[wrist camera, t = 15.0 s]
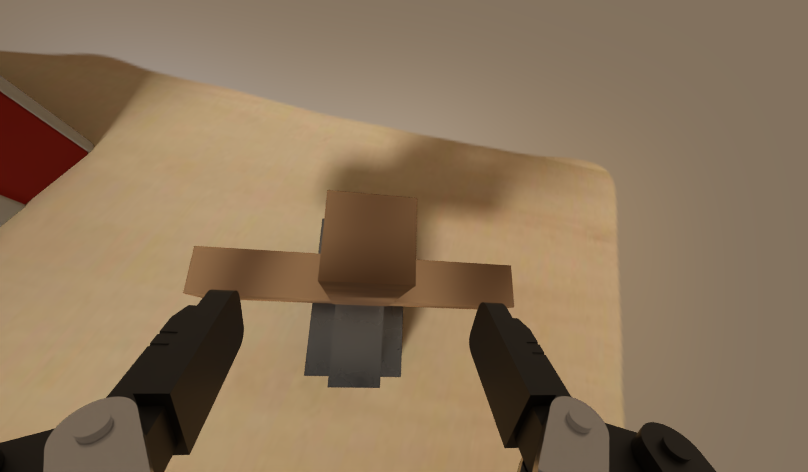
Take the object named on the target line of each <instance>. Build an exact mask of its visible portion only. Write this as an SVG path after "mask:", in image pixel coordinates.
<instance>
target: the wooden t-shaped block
mask: <svg viewBox="0 0 808 472" xmlns="http://www.w3.org/2000/svg"><path fill="white" fill-rule="evenodd" d="M416 232H417V198H410V197H399V196H388V195H377V194H366V193H355V192H344V191H333V190H328V191H327V200H326V209H325V218H324V228H323V237H322V246H321V254H315V253H299V252H283V251H267V250H251V249H235V248H219V247H203V246H194V249H193V254H192V258H191V262H190V266H189V271H188V275H187V279H186V283H185V288H184V292H183V293H184V294H188V295H193V296H197V297H201V298H203V297H204V296H205V294H206V293H207V292H208V291H209V290H211V289H215V290H236V291H238V293H239V296H240V300H257V301H282V302H307V303H332V304H340V305H365V306H407V307H432V308H457V309H478V307H479V305H480V303H482V302H489V303H503V304H504V305H505V306H506V308H512V307H514V299H513V286H512V274H511V266H509V265H493V264H477V263H461V262H445V261H428V260H416Z"/></svg>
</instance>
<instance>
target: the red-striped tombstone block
mask: <svg viewBox="0 0 808 472" xmlns="http://www.w3.org/2000/svg"><path fill="white" fill-rule="evenodd" d="M92 150H93V144H92V143H91V142H90V141H89V140H88V139H86V138H85V137H84V136H82V135H81V134H79V133H78V132H77V131H75V130H74V129H73V128H71V127H70V126H69V125H67V124H66V123H64V122H63V121H62V120H60V119H59V118H58V117H56V116H55V115H54V114H52V113H51V112H49V111H48V110H47V109H45V108H44V107H43V106H41V105H40V104H39V103H37V102H36V101H35V100H33V99H32V98H30V97H29V96H28V95H26V94H25V93H24V92H22V91H21V90H20V89H18V88H17V87H15V86H14V85H13V84H11V83H10V82H9V81H7V80H6V79H5V78H3V77H2V76H0V227H1V226H2V225H3V224H4V223H6V222H7V221H8V220H9V219H11V218H12V217H13V216H14V215H16V214H17V213H18V212H19V211H21V210H22V209H23V208H24V207H25V204H26V203H27V202H29V201H30V200H31V199H32V198H34V197H35V196H36V195H37V194H39V193H40V192H41V191H42V190H44V189H45V188H46V187H47V186H49V185H50V184H51V183H52V182H54V181H55V180H56V179H58V178H59V177H60V176H61V175H63V174H64V173H65V172H66V171H68V170H69V169H70V168H71V167H73V166H74V165H75V164H76V163H78V162H79V161H80V160H81V159H83V158H84V157H85V156H86V155H88V152H91V151H92Z"/></svg>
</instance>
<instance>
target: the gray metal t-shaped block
mask: <svg viewBox="0 0 808 472" xmlns="http://www.w3.org/2000/svg"><path fill="white" fill-rule="evenodd" d="M323 228H324V219H322V227H321V236H320V244H319V253H318V254H321V246H322V237H323ZM402 324H403V306H365V305H340V304H332V303H313V304H312V312H311V321H310V330H309V338H308V347H307V355H306V364H305V372H304V376H329V378H328V387H355V388H380V377H401V355H402Z"/></svg>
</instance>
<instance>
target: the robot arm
mask: <svg viewBox="0 0 808 472" xmlns="http://www.w3.org/2000/svg"><path fill="white" fill-rule="evenodd" d="M243 333H244V325H243V318H242V310H241V303H240V296H239V293H238V291H236V290H215V289H211V290H209V291H208V292H207V293H206V294H205V296H204V297H203V298H202V300H201V301H200V303H199V304H198V305H197V306H193V305H188V306H187V307H185V308H184V309H182V310H181V311H179V312H178V313H177V314H175V315H174V316H172V317H171V318H170V319H169V321H168V322H167V323H166V324H165V326H164V327H163V328H162V329H161V330H160V334H157V335H156V337H155V338H154V339H153V340H152V342H151V343H150V346H148V347H147V348H146V349H145V350H144V352H143V353H142V354H141V355H140V357H139V358H138V359H137V360H136V362H135V363H134V364H133V365H132V367H131V368H130V369H129V370H128V371H127V373H126V374H125V375H124V376H123V378H122V379H121V380H120V381H119V383H118V384H117V385H116V386H115V388H114V389H113V390H112V391H111V393H110V394H109V395H108V396H107V397H106V398H104V399H100V400H97V401H95V402H92V403H90V404H88V405H85V406H84V407H82V408H80V409H78V410H76V411H75V412H74V413H72V414H71V415H69V416H68V417H67V418H65V419H64V420H63V421H62V422H61V423H60V424H59V425H58V426H57V427H56V428H55V429H51V430H48V431H44V432H40V433H37V434H33V435H29V436H25V437H21V438H17V439H13V440H10V441H6V442H2V443H0V472H164V471H165V469H166V467H167V465H168V463H169V461H170V459H171V457H172V455H190V453H191V450H192V448H193V446H194V444H195V442H196V440H197V438H198V436H199V433H200V431H201V429H202V427H203V425H204V423H205V421H206V419H207V416H208V414H209V412H210V410H211V408H212V406H213V404H214V402H215V399H216V397H217V395H218V393H219V391H220V389H221V387H222V384H223V382H224V380H225V378H226V376H227V374H228V372H229V370H230V367H231V365H232V363H233V361H234V359H235V357H236V355H237V353H238V350H239V348H240V346H241V343H242V339H243ZM469 345H470V351H471V355H472V357H473V360H474V363H475V366H476V369H477V371H478V374H479V377H480V380H481V383H482V386H483V388H484V391H485V394H486V397H487V400H488V402H489V405H490V408H491V411H492V414H493V417H494V419H495V422H496V425H497V428H498V431H499V433H500V436H501V439H502V442H503V445H504V448H519V450H520V453H521V455H522V458H521V460H520V463H519V466H518V470H517V472H716V471H715V470H714V468H713V467H712V466H711V465H710V463H709V462H708V461H707V460H706V459H705V457H704V456H703V455H702V454H701V452H700V451H699V450H698V449H697V448H696V447H695V446H694V445H693V444H692V443H691V442H690V441H689V440H688V439H687V438H685V437H684V436H683V435H681V434H680V433H679V432H677V431H675V430H674V429H672V428H670V427H668V426H665V425H663V424H659V423H654V422H650V423H646V424H645V425H643V427H642V428H641V429H640V430H639V432H638V433H636V432H633V431H629V430H626V429H623V428H620V427H616V426H613V425H610V424H607V423H604V421H603V420H602V418H601V417H600V416H599V415H598V414H597V413H596V411H594V410H593V409H592V408H591V407H590V406H588V405H587V404H586V403H584V402H582V401H580V400H578V399H576V398H573V397H571V396H570V394H569V392H568V391H567V389H566V387H565V386H564V384H563V383H562V381H561V379H560V378H559V376H558V374H557V373H556V371H555V369H554V368H553V366H552V365H551V363H550V361H549V360H548V358H547V356H546V355H544V352H543V350H542V348H541V347H540V345H538V342H537V340H536V339H535V337H534V335H533V334H532V332H531V330H530V329H529V328H528V327H527V326H526V325H524V324H523V323H522V322H521V321H520V320H519V319H517V318H512V316H511V314H510V313H509V311H508V309H507V308H506V306H505V305H504V304H503V303H489V302H482V303H480V305H479V307H478V310H477V313H476V316H475V320H474V323H473V326H472V329H471V333H470V338H469Z"/></svg>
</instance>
